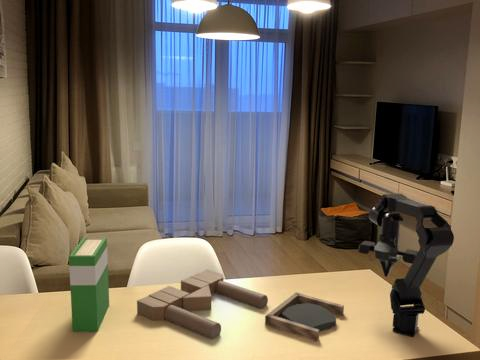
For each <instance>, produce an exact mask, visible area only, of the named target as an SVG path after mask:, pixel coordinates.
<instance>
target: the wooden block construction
mask: <svg viewBox="0 0 480 360" xmlns="http://www.w3.org/2000/svg"><path fill="white" fill-rule="evenodd" d="M215 294H217V295H220V296H224V297H226V298H229V299H232V300H233V301H237V302H240V303H242V302H243V304H245V303H246V305H249V306H251V307H254V308H257V309H259V310H262V309H264V308H266V307H267V305H268V302H269V299H268V296H267V295H266V294H263V293H260V292H258V291H257V292H256V291H254V290H250V289H248V288H246V287H242V286H240V285H237V284H233V283H230V282H227V281H224V275H223V273H220V272H217V271H214V270H211V269H205V270H203V271H201V272H198V273H195V274H193V275H191V276H188V277H186V278H184V279H182V280H180V289H179V288H176V287H173V286H171V285H167V286H166V287H163V288H161V289H160V290H157V291H155V292H152V293H150V294H148V295H147V296H145V297H142V298H140V299H138V300H136V311H137V312H136V313H137V314H136V315H138V316H141V317H142V318H146V319H147V320H149V321H150V320H151V321H153V322H155V321H157V322H158V321H159V322H160V321H165V320H167V321H169V322H171V323H174V324H175V325H178V326H181V327H183V328H186V329H188V330H190V331H192V332H196V333H197V334H199V335H202V336H203V337H207V338H210V339H212V340H214V339H216V338H218V337H219V336H220V335H221V331H222V325H221V323H220V322H217V321H215V320H211V319H209V318H207V317H204V316H201V315H199V314H196V313H194V312H191V311H209V310H210V311H211V310H212V296H214V295H215Z"/></svg>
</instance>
